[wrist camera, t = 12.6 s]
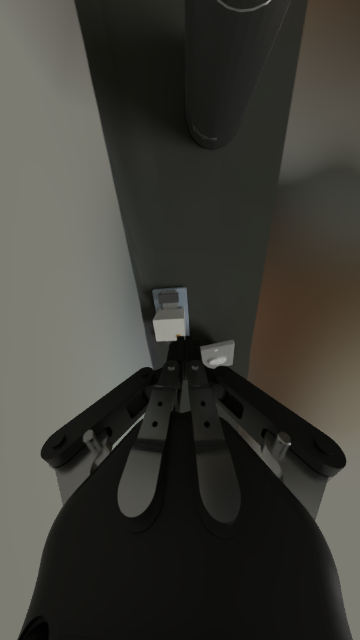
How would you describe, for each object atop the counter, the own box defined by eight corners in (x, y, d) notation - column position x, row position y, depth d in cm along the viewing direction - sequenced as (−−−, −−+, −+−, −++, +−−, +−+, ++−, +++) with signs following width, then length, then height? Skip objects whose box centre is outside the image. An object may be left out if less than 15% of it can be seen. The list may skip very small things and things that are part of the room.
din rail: (159, 290, 32) (157, 293, 29) (178, 289, 32) (177, 292, 29) (167, 340, 38) (165, 345, 35) (183, 339, 37) (182, 345, 35)
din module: (159, 308, 34) (152, 320, 27) (184, 306, 33) (183, 318, 27) (161, 326, 36) (156, 341, 29) (185, 325, 35) (185, 340, 29)
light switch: (205, 372, 42) (197, 355, 30) (201, 354, 45) (193, 333, 34) (233, 367, 40) (236, 347, 29) (227, 349, 44) (227, 325, 33)
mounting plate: (153, 289, 33) (152, 290, 32) (186, 286, 33) (186, 287, 31) (161, 338, 39) (160, 341, 38) (189, 336, 38) (189, 339, 37)
